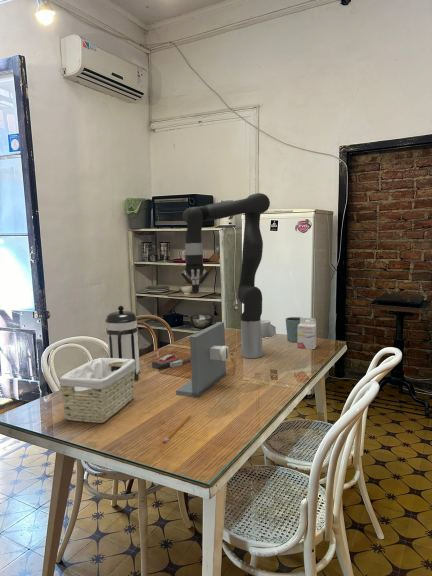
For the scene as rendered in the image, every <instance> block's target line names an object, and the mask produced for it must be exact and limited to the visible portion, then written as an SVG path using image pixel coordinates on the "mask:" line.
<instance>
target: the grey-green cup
mask: <svg viewBox="0 0 432 576" xmlns="http://www.w3.org/2000/svg"><path fill="white" fill-rule="evenodd" d="M300 318H303V317H301V316H291V317H286V318H285V327H286V329H285V330H286V337H287V338H286V339H287V342H288V341H289V342H288V343H293V344H295V343H296V344H297V329H298V325H299V324H300Z"/></svg>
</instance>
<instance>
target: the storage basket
mask: <svg viewBox="0 0 432 576" xmlns="http://www.w3.org/2000/svg"><path fill="white" fill-rule="evenodd" d="M109 366H112V367H113V366H116V367H121V368H120V369H118V370H116V371H112V372H110V367H109ZM134 373H135V360H134V359H119V358H109V357H98V358H96V359H92V360H90V361H88V362H86V363H84V364H82V365H80V366H78V367H76V368H73V369H71V370H70V371H68V372H66V373H65V374H63V375H62V376H61V377H59V381H58V382H59V386H60V387H59V389H60V394H61V398H62V399H61V400H62V404H63V407H62V408H63V411H64V413H63V414H64V418H65V420H68V421H73V422H84V423H94V424H95V423H96V424H103V423H104V422H106V421H107V420H109V419H110V418H112V417H113V416H114V415H115V414H116V413H118V411H120V410H121V409H123V408H124V407H125V406H126V405H127V404H129V402H131V401H132V400H133V399H134V391H135V390H134V389H135V381H134V375H135V374H134Z"/></svg>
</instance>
